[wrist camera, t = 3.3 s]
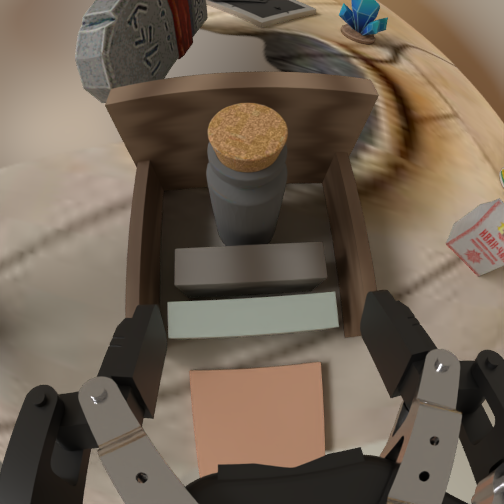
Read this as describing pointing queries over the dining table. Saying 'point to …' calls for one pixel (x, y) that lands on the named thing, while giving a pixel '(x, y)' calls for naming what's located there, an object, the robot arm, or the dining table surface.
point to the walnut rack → (196, 160)
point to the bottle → (246, 172)
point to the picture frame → (263, 10)
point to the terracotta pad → (258, 416)
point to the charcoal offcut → (249, 269)
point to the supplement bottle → (502, 177)
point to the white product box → (480, 237)
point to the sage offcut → (252, 316)
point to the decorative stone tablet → (134, 41)
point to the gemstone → (362, 21)
